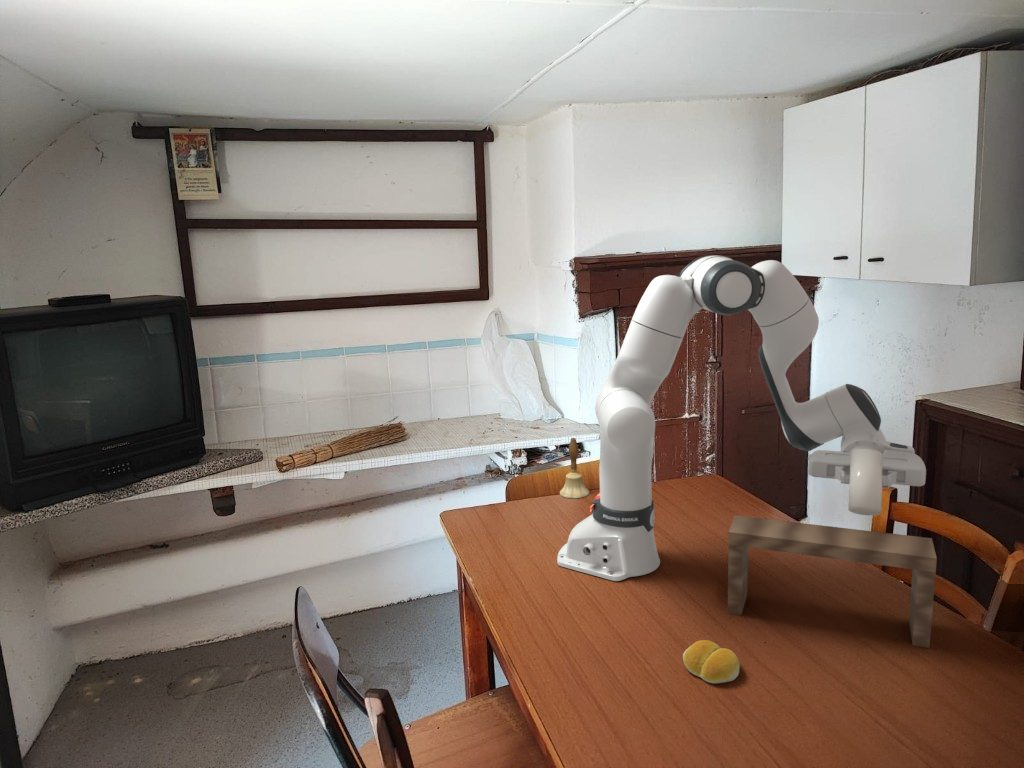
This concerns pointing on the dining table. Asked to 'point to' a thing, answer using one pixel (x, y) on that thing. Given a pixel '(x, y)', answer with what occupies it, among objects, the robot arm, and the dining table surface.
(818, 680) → the dining table surface
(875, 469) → the white cylinder
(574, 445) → the hand bell
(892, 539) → the arch
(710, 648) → the bread roll
